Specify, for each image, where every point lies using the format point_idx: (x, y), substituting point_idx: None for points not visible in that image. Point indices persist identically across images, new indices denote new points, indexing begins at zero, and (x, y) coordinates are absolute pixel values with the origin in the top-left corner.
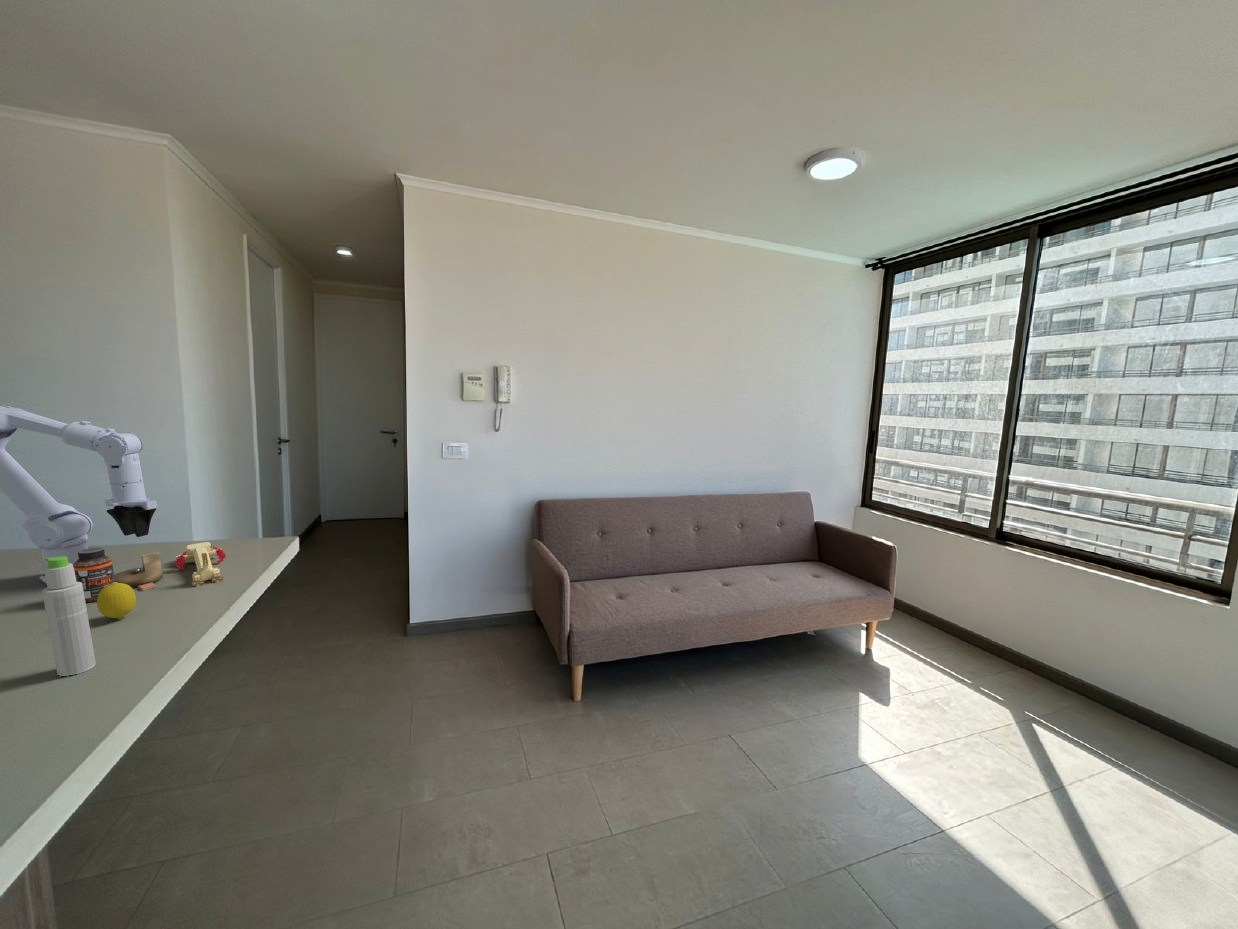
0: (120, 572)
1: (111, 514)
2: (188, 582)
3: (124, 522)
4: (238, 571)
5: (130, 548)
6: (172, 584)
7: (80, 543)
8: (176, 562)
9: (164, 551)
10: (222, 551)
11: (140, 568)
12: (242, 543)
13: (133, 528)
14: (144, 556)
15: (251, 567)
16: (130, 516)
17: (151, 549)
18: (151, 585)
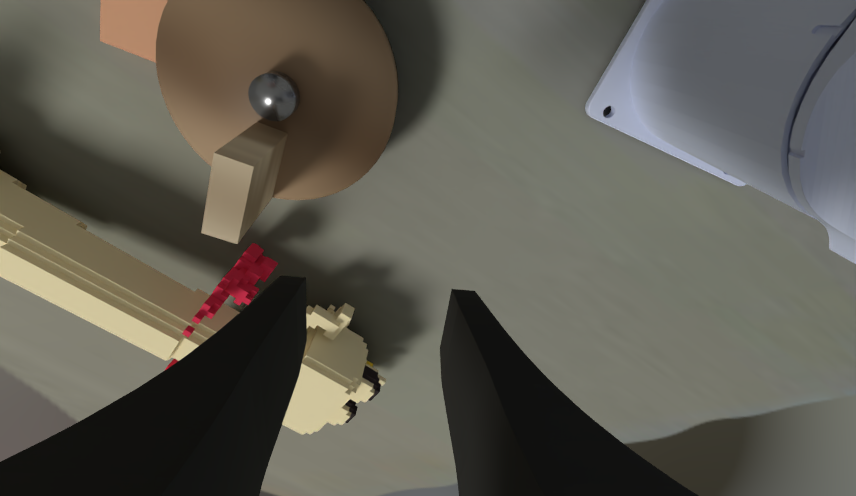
0: (390, 85)
1: (634, 492)
2: (39, 132)
3: (477, 405)
4: (7, 283)
5: (739, 385)
6: (81, 92)
7: (793, 127)
8: (252, 259)
9: (574, 385)
10: None
11: (256, 112)
12: (366, 477)
13: (261, 325)
14: (215, 159)
15: (19, 326)
16: (40, 477)
17: (646, 391)
18: (107, 24)
